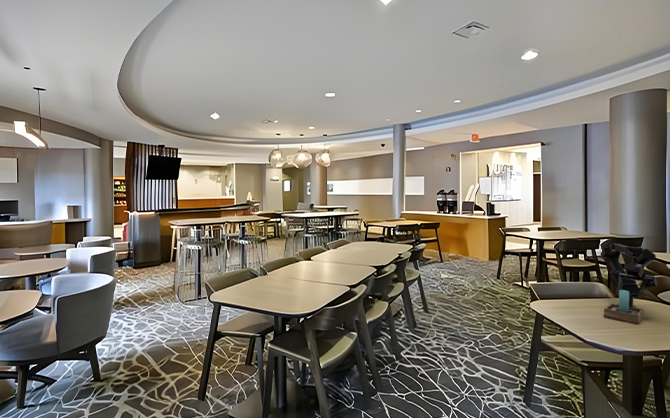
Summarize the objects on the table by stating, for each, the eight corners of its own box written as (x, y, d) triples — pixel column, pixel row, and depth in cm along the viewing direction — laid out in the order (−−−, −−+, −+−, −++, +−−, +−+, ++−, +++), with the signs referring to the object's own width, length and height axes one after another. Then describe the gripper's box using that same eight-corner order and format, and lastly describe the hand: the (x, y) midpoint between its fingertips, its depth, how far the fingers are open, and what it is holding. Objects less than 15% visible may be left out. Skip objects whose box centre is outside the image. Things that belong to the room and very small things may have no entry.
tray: (610, 311, 190) (610, 303, 190) (643, 318, 179) (643, 309, 179) (603, 317, 181) (604, 308, 181) (638, 324, 171) (638, 315, 170)
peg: (619, 313, 183) (620, 289, 182) (629, 315, 180) (630, 291, 179) (617, 315, 180) (618, 290, 180) (627, 317, 177) (628, 292, 177)
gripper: (611, 255, 192) (602, 277, 187) (655, 260, 176) (646, 285, 171) (617, 267, 196) (608, 290, 191) (661, 274, 180) (652, 298, 175)
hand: (627, 290), depth 182 cm, fingers open, 9 cm apart
